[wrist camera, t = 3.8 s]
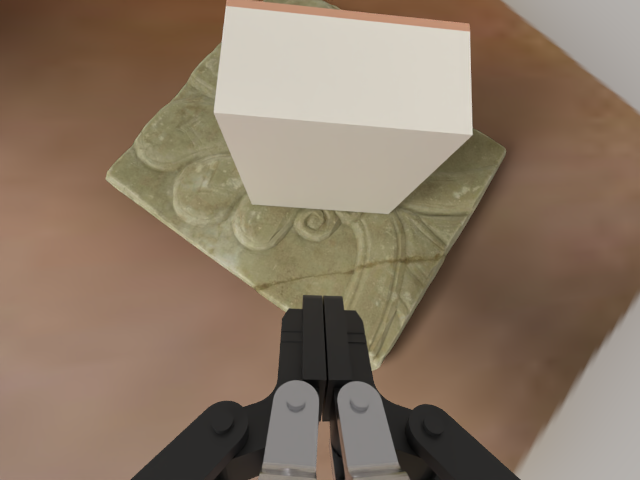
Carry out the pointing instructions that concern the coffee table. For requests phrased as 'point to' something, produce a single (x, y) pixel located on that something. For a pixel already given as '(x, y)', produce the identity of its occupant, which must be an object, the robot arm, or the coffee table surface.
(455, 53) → the white rectangular block
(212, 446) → the robot arm
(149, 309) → the coffee table surface
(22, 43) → the coffee table surface
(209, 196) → the decorative tile
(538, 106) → the coffee table surface
